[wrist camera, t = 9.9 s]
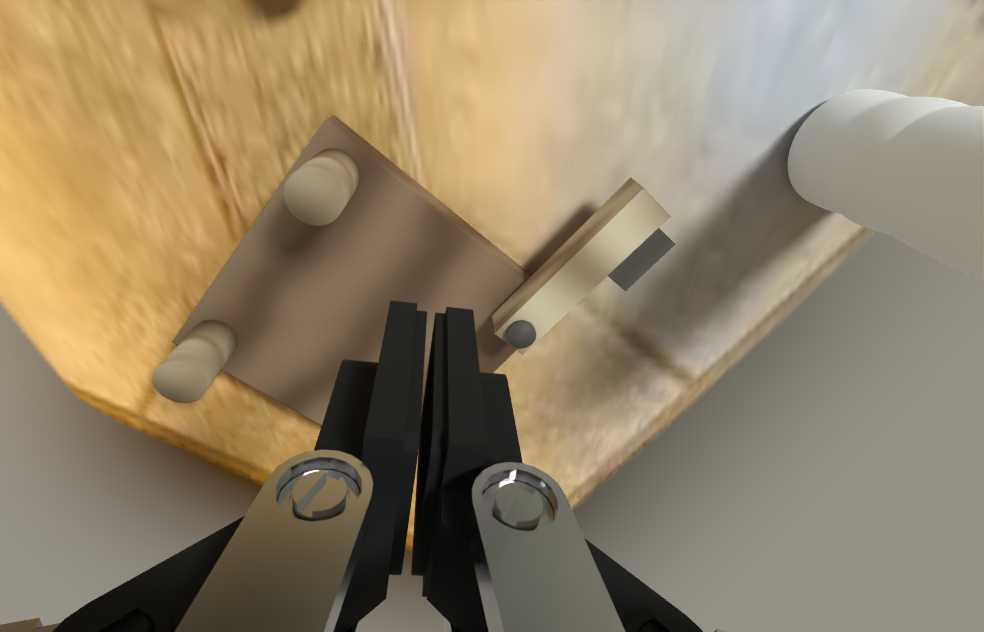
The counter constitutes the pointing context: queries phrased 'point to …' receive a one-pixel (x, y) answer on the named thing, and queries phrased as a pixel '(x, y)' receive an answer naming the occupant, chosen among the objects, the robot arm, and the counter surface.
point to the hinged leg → (579, 265)
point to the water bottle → (899, 170)
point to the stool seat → (345, 279)
